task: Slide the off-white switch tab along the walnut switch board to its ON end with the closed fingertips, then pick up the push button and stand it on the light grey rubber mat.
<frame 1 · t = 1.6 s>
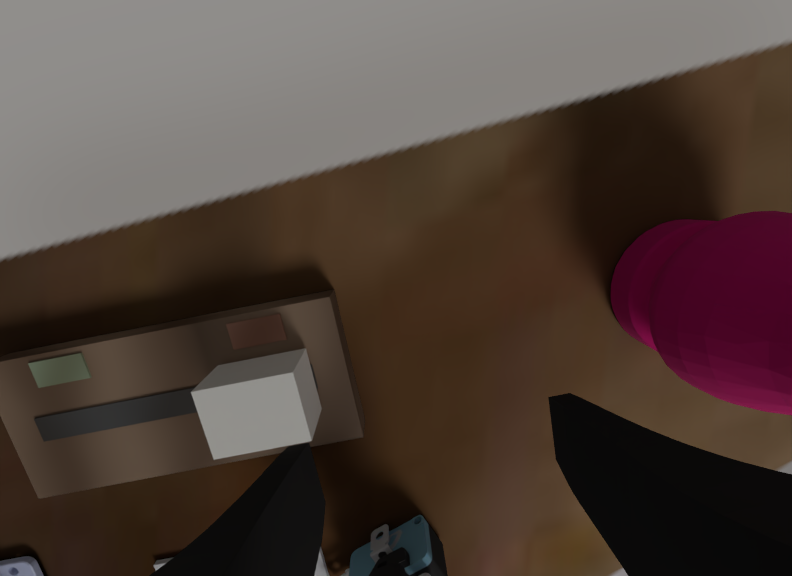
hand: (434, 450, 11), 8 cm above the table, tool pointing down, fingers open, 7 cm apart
pepper mill: (669, 283, 19), on the table
switch tab: (262, 401, 17), point 3 cm above the table, slide at 0.0 cm
switch board: (192, 387, 20), on the table
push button: (384, 545, 22), on the table
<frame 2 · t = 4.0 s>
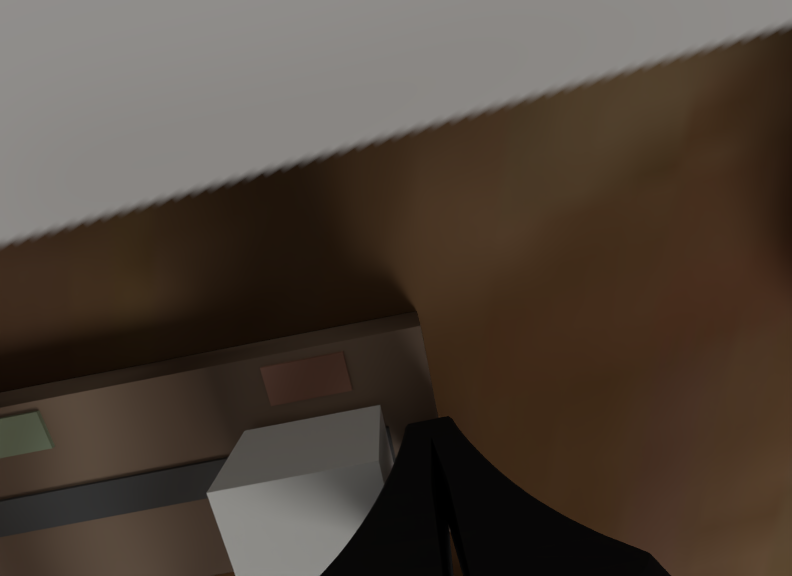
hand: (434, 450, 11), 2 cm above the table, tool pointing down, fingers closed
switch tab: (317, 493, 11), point 3 cm above the table, slide at 0.1 cm, touching gripper
switch board: (205, 452, 14), on the table
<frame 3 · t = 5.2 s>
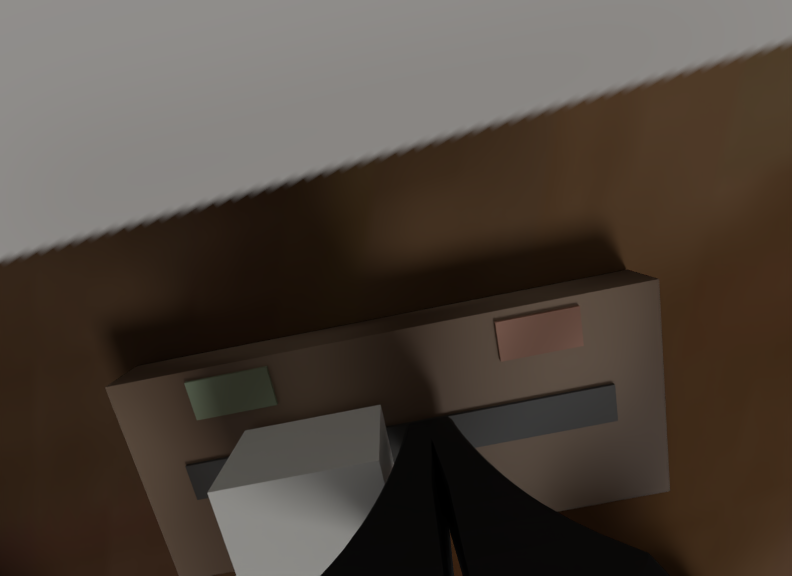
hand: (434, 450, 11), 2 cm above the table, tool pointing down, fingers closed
switch tab: (317, 492, 11), point 3 cm above the table, slide at 6.8 cm, touching gripper
switch board: (399, 415, 14), on the table
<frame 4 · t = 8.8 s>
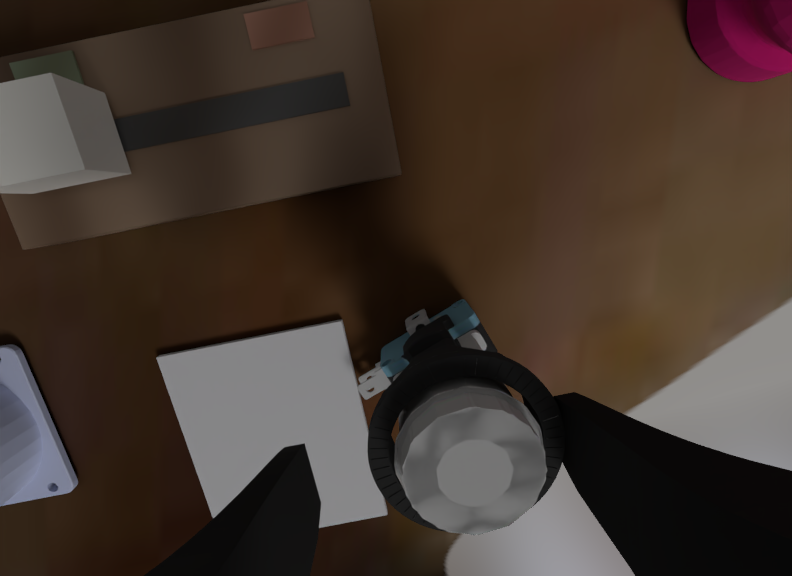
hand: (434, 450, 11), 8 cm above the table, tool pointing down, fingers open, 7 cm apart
pepper mill: (753, 4, 17), on the table
switch tab: (41, 139, 14), point 3 cm above the table, slide at 9.0 cm
switch board: (201, 129, 17), on the table
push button: (418, 342, 20), on the table, touching gripper
parts mat: (279, 437, 20), on the table
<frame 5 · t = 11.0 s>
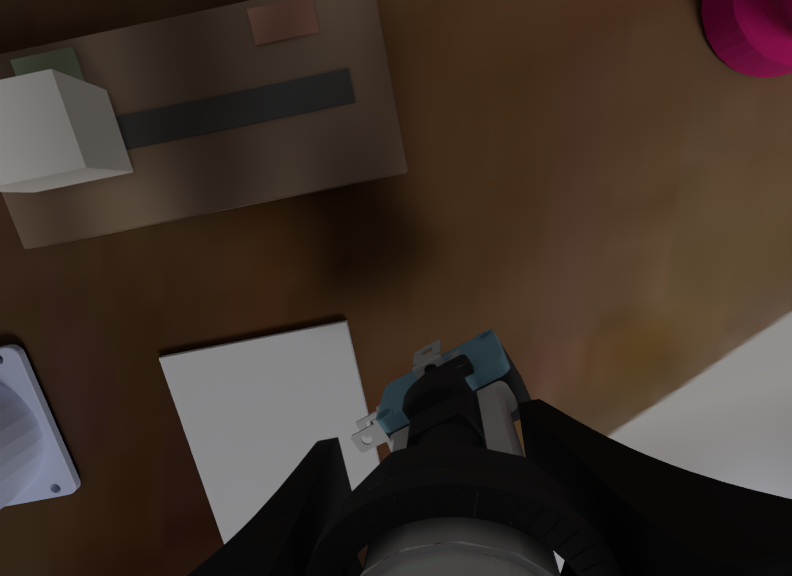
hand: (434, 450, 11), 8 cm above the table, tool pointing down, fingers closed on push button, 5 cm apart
switch tab: (42, 137, 14), point 3 cm above the table, slide at 9.0 cm
switch board: (204, 126, 17), on the table
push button: (433, 380, 16), point 4 cm above the table, touching gripper
parts mat: (283, 439, 20), on the table
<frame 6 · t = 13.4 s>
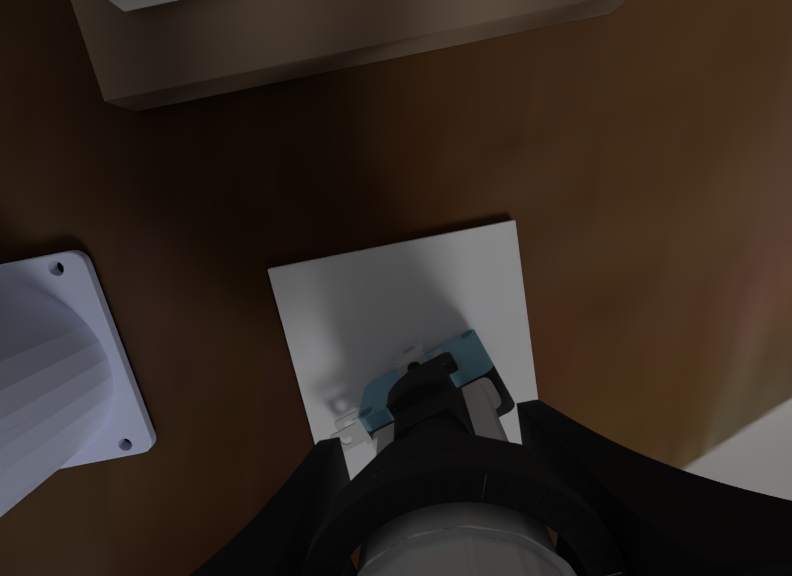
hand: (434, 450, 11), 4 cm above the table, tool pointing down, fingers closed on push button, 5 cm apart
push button: (413, 380, 16), resting on parts mat, touching gripper
parts mat: (417, 380, 16), on the table
when the fingers open (4 cm above the table, at t = 13.5 s): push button stays where it is, resting on parts mat.
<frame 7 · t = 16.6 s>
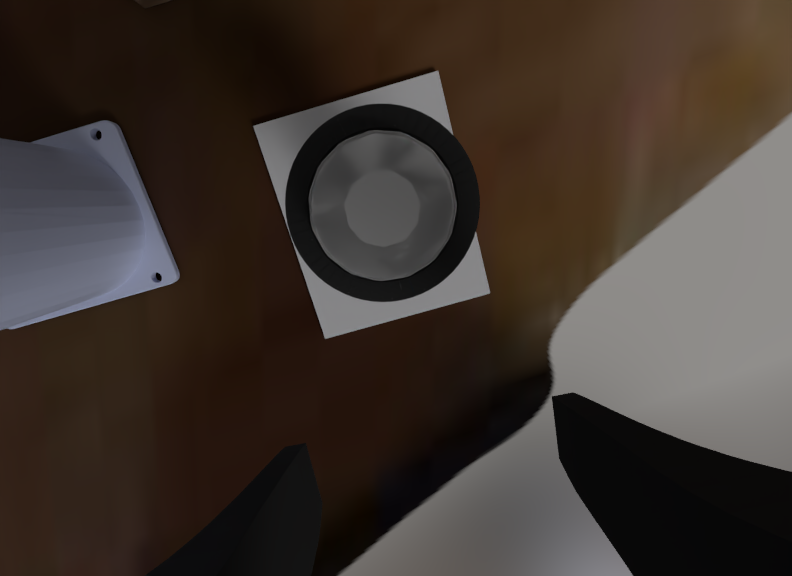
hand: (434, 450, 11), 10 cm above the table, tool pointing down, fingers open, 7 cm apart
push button: (373, 211, 20), resting on parts mat
parts mat: (377, 213, 20), on the table
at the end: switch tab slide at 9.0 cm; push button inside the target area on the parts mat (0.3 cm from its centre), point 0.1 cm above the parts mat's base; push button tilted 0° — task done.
